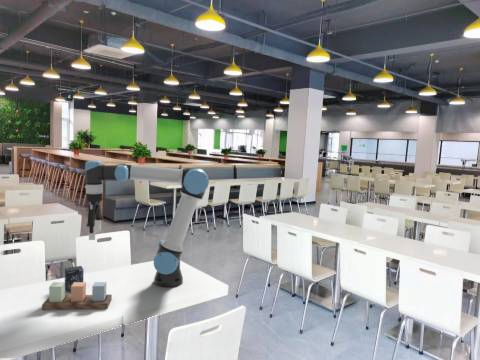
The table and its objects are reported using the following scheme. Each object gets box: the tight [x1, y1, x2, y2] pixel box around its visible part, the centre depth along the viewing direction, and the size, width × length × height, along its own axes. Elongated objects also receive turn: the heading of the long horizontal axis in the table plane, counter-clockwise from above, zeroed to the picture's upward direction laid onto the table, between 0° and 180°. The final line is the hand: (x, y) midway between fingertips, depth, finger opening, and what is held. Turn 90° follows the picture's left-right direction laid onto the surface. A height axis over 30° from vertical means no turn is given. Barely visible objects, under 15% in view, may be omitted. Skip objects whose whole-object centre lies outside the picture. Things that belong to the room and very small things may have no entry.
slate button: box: [91, 281, 107, 301], centre depth 169 cm, size 5×5×7 cm
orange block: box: [70, 281, 87, 302], centre depth 168 cm, size 5×5×7 cm
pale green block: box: [48, 281, 66, 303], centre depth 166 cm, size 5×5×7 cm
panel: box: [41, 294, 113, 311], centre depth 168 cm, size 27×10×2 cm, turn 99°
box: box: [64, 265, 85, 293], centre depth 186 cm, size 8×6×11 cm
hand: (95, 236), depth 182 cm, fingers open, 13 cm apart
